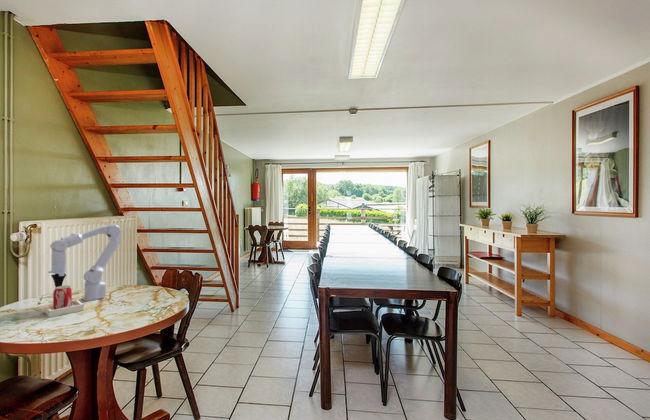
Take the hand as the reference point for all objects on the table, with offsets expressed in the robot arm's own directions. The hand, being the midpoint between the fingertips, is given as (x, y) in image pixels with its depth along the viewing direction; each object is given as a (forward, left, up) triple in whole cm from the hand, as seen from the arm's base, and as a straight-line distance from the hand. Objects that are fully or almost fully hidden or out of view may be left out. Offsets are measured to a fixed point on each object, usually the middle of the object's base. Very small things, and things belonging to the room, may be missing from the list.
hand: (58, 287), depth 158 cm
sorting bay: (0, +14, -9) cm, 17 cm away
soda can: (0, +12, -10) cm, 16 cm away
